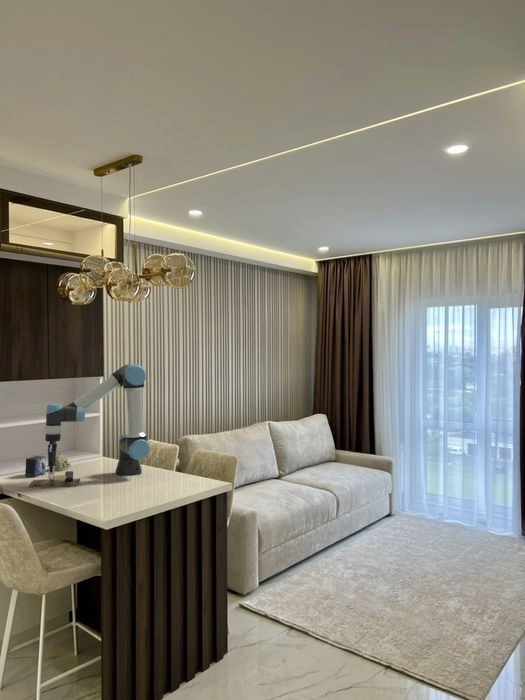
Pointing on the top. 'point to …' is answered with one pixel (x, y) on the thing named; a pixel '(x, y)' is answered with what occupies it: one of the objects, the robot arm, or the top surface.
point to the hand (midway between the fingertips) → (51, 478)
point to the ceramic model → (61, 463)
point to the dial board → (54, 483)
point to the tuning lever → (61, 476)
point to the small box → (35, 466)
